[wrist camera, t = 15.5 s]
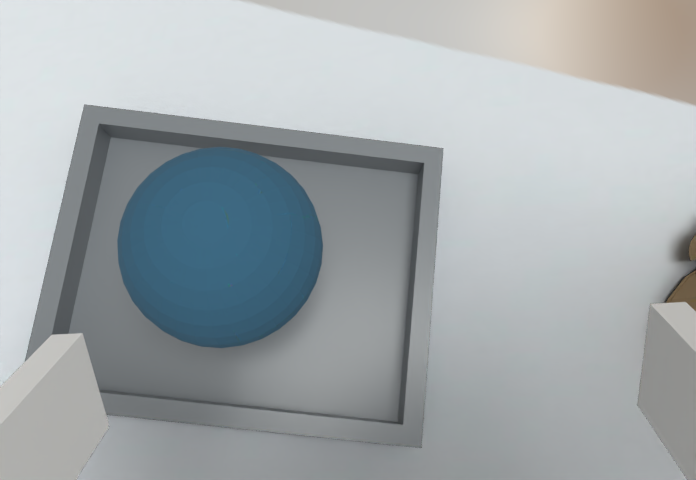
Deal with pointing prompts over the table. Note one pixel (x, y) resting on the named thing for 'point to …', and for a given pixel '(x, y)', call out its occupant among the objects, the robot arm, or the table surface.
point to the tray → (297, 334)
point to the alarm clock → (687, 283)
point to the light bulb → (219, 247)
